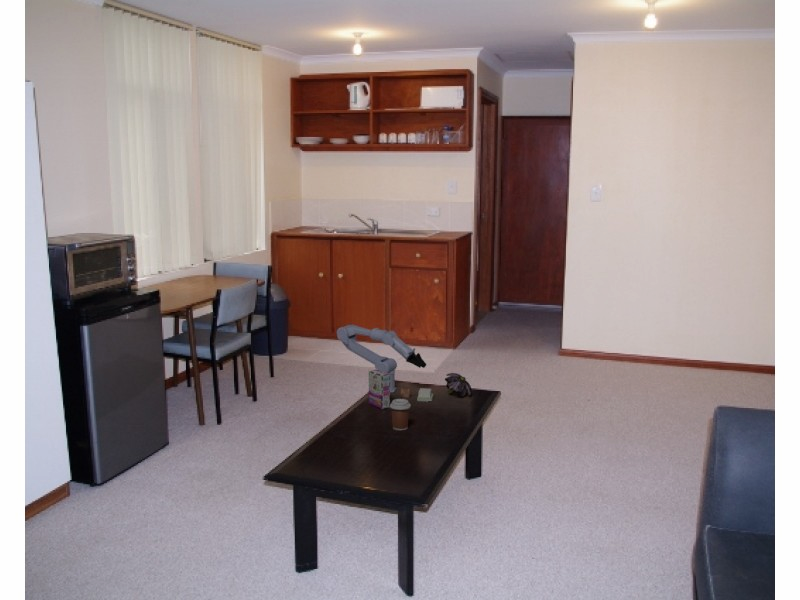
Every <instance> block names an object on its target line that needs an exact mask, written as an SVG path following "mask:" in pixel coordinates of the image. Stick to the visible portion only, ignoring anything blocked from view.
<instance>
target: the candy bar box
mask: <svg viewBox="0 0 800 600" xmlns="http://www.w3.org/2000/svg"><path fill="white" fill-rule="evenodd" d="M368 404H369V405H371V406H373V405H374V406H373V407H375V406H376V407H375V408H377V409H381V410H385V408H386V409H391V408H390V404H391V392H390V374H388V373H385V372H382V371H379V370H377V369H371V370H368Z"/></svg>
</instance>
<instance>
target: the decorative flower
mask: <svg viewBox="0 0 800 600" xmlns="http://www.w3.org/2000/svg"><path fill="white" fill-rule="evenodd" d="M445 376H446V377H445V378H444V381H445V382H446V384H445V386H446V388H447V389H448V390H447V391H446V392H447V393H448V395H449V394H450V395H453V394H457V395H459V396H460V398H461V399H463V398H464V397H465V396H466V394H467V393H468V398H470V397H472V395H473V390H472V387H471V386H472V385H470V383H469V381H468V380H467V379H466V377H465V376H462V375H461V374H460V373H456V372H452V373H451V372H450V373H447V374H445Z"/></svg>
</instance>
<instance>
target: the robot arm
mask: <svg viewBox="0 0 800 600" xmlns="http://www.w3.org/2000/svg"><path fill="white" fill-rule="evenodd" d="M357 335H358V336H365V337H369V338H370V339H371V340H373V341H377V342H382V343H383V344H384V345H387V346H388V345H389V347H391V348H392V349H393V350H394V351H396V352H397V354H399V355H400V356H402V358H404V359H405V362H406V363H409V364H412V365H414V366H416V368H423V369H425V368H426V366H427V363H426V362H425V360H424V359H423V358H422V356H421V354H420V353H419V352H417V354H416V353H415V351H416V348H415V347H413V348H411V347H410V346H409V345H408V344H406V343H405V342H404V341H403V340H401V339H400V337H398V334H397V333H396V332H395V331H393V330H389V331H388V330H387V329H380V328H379V327H375V328H372V329H369V328H365V327H363V326H358V325H356V324H347V325H345V326H341V327H339V328H338V329H336V336H337V337H336V338H337V339H338V341H340V342H341V343H342V344H343V346H344V347H345V348H346V350H348V351H350V352H352V353H353V354H355V355H357V356H358V357H360V358H362V359H364V360H365V361H367V362H369V363H371V364H372V365H374V368H375V370H379V371H382V372H385V373H388V374H390V393H395V391H396V390H397V386H396V385H395V381H396V380H395V378H396V377H395V376H396V374H395V372H396V371H395V370H396V369H397V367H398V363H397V360H395V359H394V358H391V357H390V358H389V357H387V356H384V355H383V356H382V355H380V354H378V353H377V352H374V351H373V350H371V349H369V348H368V347H365V346H364V345H362V344H360V343H359V342H358V341H357ZM395 386H396V387H395Z"/></svg>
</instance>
